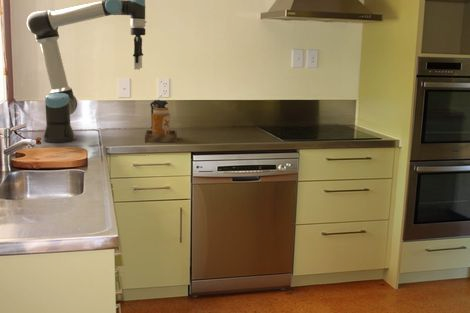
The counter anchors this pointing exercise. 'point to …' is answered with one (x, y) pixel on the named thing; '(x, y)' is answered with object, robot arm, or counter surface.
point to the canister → (160, 117)
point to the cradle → (161, 137)
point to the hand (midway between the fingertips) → (138, 68)
